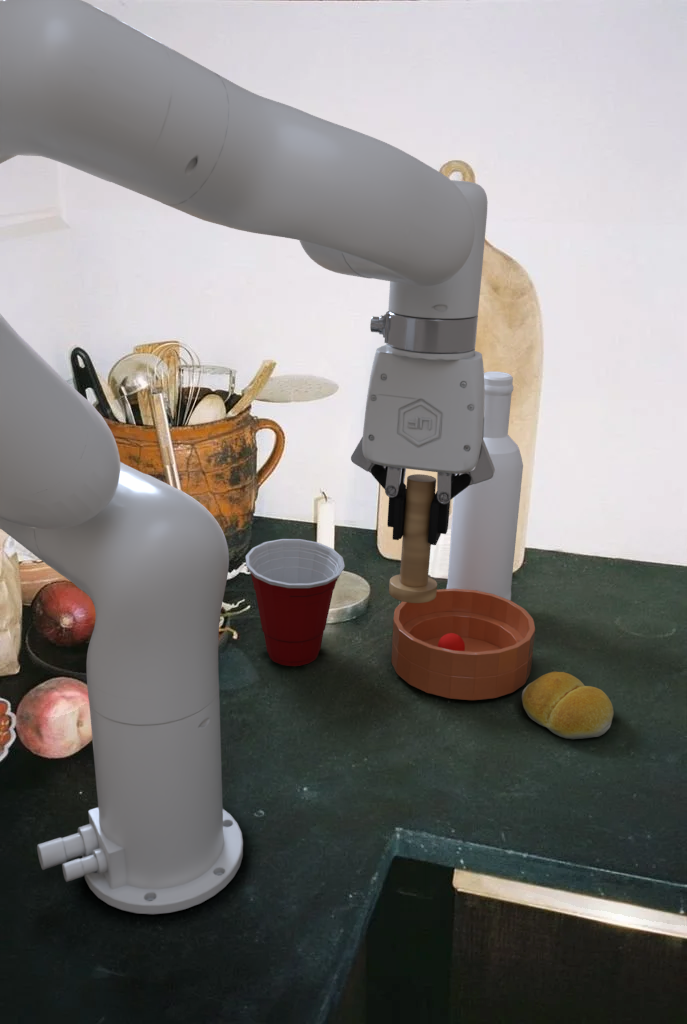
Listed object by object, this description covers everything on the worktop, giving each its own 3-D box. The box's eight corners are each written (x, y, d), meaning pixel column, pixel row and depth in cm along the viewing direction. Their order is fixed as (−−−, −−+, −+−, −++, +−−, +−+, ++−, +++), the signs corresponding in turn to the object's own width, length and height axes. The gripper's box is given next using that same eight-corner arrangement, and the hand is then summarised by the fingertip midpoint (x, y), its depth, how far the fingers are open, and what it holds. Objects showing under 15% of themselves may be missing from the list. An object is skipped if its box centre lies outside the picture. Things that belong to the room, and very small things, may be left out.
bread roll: (580, 753, 90) (585, 717, 88) (508, 712, 96) (511, 678, 94) (630, 722, 95) (635, 688, 93) (558, 685, 101) (562, 652, 99)
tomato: (447, 637, 102) (472, 642, 103) (438, 626, 105) (462, 631, 106) (439, 662, 103) (464, 666, 103) (430, 651, 105) (454, 655, 106)
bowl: (444, 719, 94) (447, 667, 92) (366, 652, 107) (367, 605, 104) (558, 682, 102) (564, 633, 99) (473, 623, 114) (476, 579, 112)
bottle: (520, 621, 114) (545, 380, 104) (461, 630, 112) (481, 384, 101) (490, 593, 122) (511, 365, 111) (435, 601, 119) (450, 368, 108)
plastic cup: (286, 690, 99) (286, 588, 94) (227, 650, 106) (225, 554, 102) (362, 658, 105) (365, 560, 101) (301, 622, 113) (302, 530, 109)
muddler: (408, 606, 84) (418, 487, 81) (379, 590, 87) (387, 474, 84) (446, 597, 86) (456, 481, 83) (415, 581, 90) (425, 469, 86)
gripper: (326, 333, 77) (320, 540, 84) (524, 350, 74) (501, 565, 80) (349, 321, 84) (341, 512, 91) (531, 335, 80) (510, 534, 87)
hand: (417, 535), depth 85 cm, fingers closed on muddler, 2 cm apart
